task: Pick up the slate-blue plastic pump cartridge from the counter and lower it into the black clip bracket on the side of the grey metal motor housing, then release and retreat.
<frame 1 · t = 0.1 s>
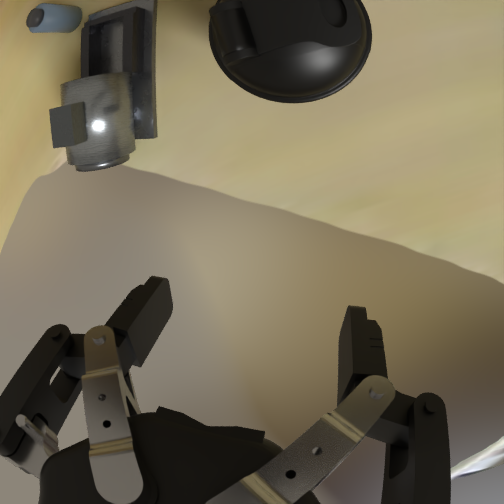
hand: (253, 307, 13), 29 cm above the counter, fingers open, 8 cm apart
motor: (121, 76, 36), on the counter
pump: (71, 19, 31), on the counter
water bottle: (303, 59, 31), on the counter
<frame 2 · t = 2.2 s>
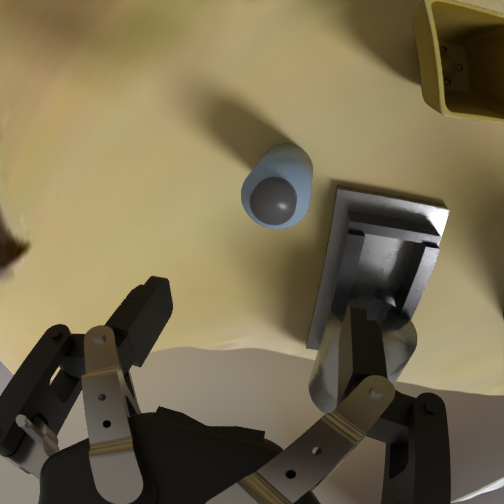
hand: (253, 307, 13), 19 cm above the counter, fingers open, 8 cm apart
motor: (368, 292, 33), on the counter
flower pot: (442, 66, 19), on the counter
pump: (286, 169, 28), on the counter
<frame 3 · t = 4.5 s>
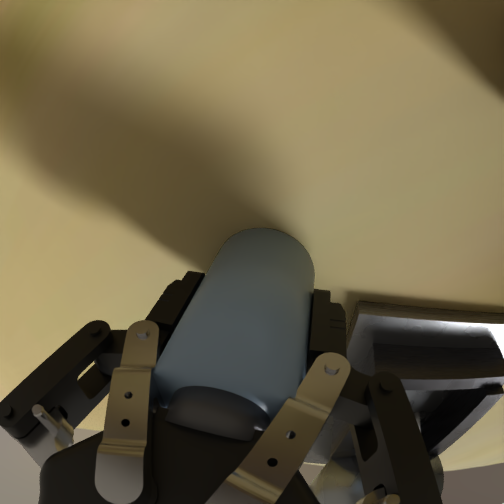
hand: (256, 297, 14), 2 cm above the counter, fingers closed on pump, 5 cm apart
motor: (387, 416, 20), on the counter
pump: (264, 273, 15), on the counter, touching gripper
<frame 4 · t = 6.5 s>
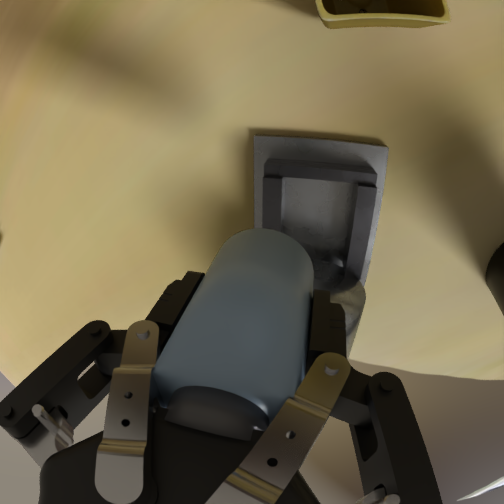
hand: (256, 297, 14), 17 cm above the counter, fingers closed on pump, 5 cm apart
motor: (312, 253, 31), on the counter
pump: (263, 273, 15), point 15 cm above the counter, touching gripper
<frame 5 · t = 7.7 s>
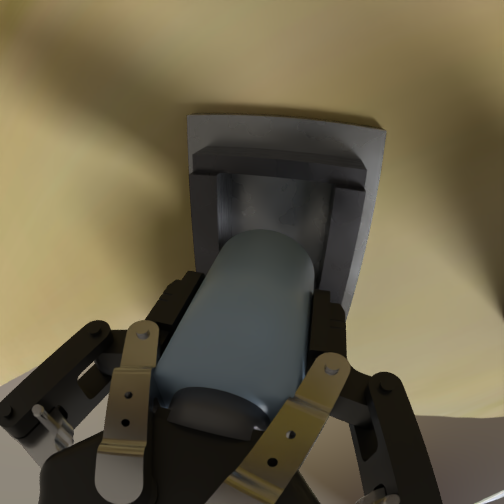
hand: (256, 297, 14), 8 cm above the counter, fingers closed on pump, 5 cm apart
motor: (275, 278, 23), on the counter
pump: (264, 274, 15), point 6 cm above the counter, touching gripper
when the fingers open (5 cm above the counter, at t = 8.7 s): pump drops 2 cm, resting on motor.
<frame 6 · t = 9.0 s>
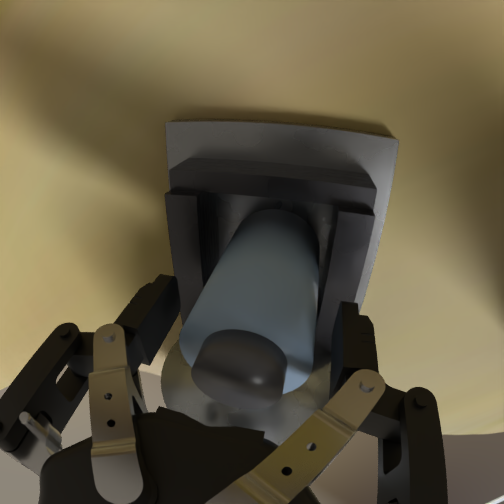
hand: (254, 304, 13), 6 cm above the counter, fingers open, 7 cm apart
motor: (269, 304, 21), on the counter
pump: (275, 249, 17), point 1 cm above the counter, touching motor
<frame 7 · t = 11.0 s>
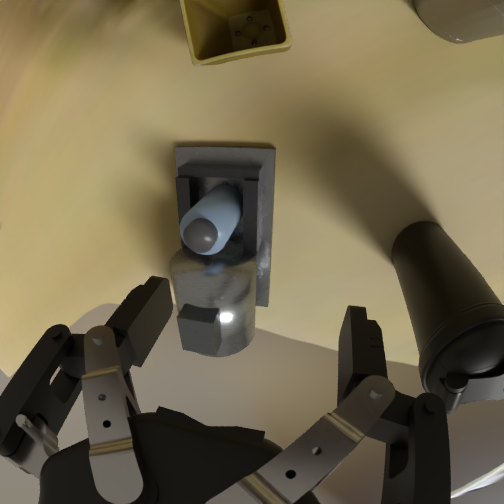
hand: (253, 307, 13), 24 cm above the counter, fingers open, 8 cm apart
motor: (226, 237, 40), on the counter
flower pot: (251, 32, 27), on the counter
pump: (225, 204, 36), point 1 cm above the counter, touching motor
water bottle: (420, 249, 35), on the counter
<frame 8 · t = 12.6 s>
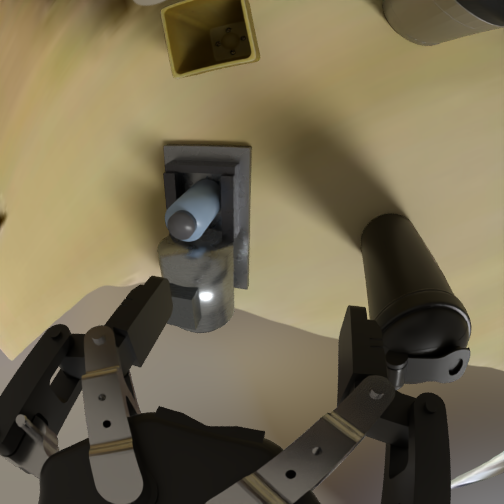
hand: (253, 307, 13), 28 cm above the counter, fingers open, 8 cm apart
motor: (209, 225, 44), on the counter
flower pot: (230, 42, 30), on the counter
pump: (207, 196, 41), point 1 cm above the counter, touching motor
water bottle: (388, 240, 40), on the counter
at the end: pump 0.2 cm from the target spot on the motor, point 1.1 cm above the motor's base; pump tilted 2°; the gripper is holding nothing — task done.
